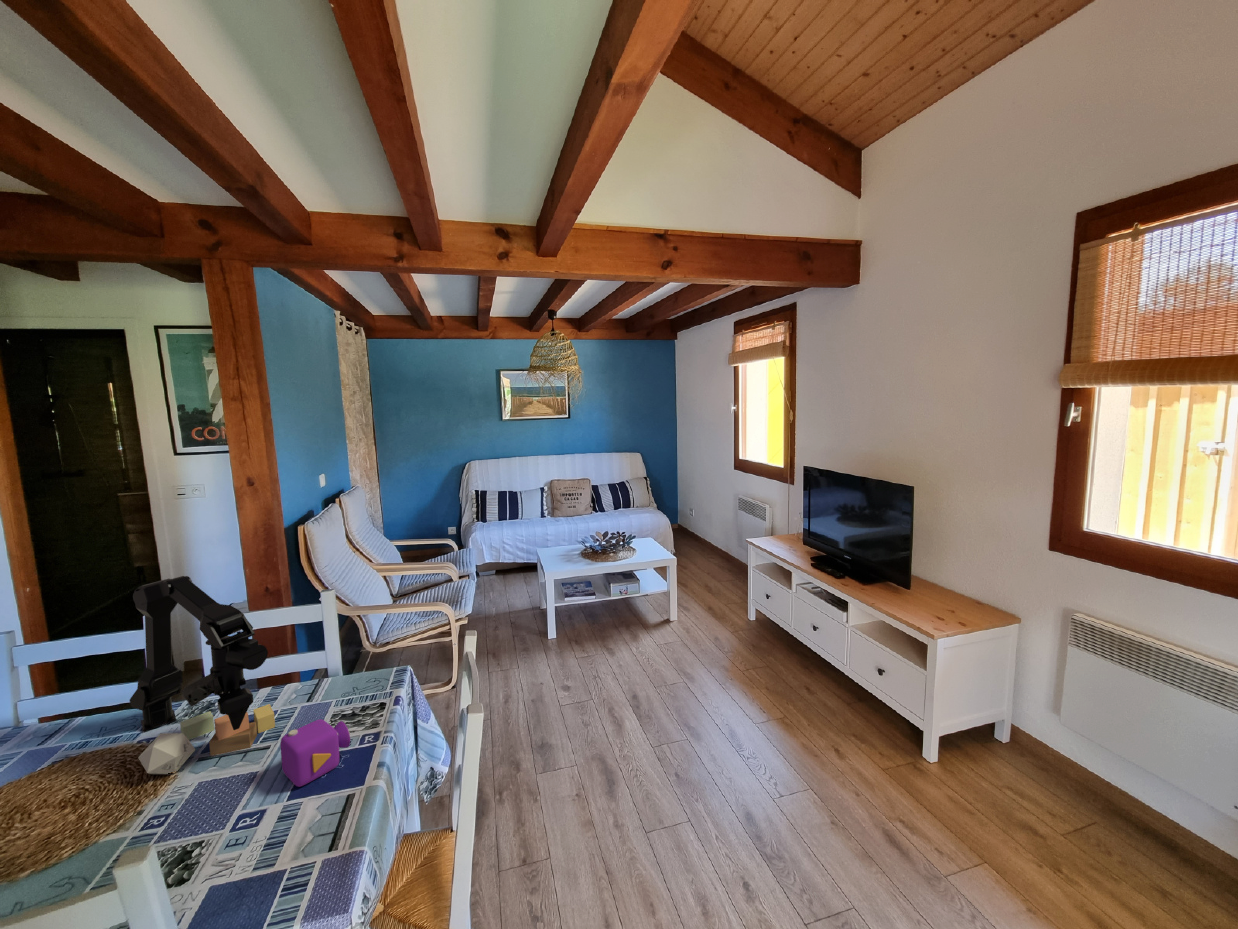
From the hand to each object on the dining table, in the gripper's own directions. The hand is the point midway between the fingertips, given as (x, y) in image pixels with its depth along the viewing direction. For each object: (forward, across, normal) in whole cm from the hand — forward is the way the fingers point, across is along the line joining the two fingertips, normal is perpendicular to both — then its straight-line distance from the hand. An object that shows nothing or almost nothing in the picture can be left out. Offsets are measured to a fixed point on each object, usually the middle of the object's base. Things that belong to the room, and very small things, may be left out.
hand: (232, 721), depth 119 cm
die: (+7, -1, -12) cm, 14 cm away
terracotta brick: (+3, 0, 0) cm, 3 cm away
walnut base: (+7, 0, 0) cm, 7 cm away
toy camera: (+7, +24, +12) cm, 28 cm away
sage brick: (+7, -13, -6) cm, 16 cm away
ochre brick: (+7, -4, +7) cm, 10 cm away
